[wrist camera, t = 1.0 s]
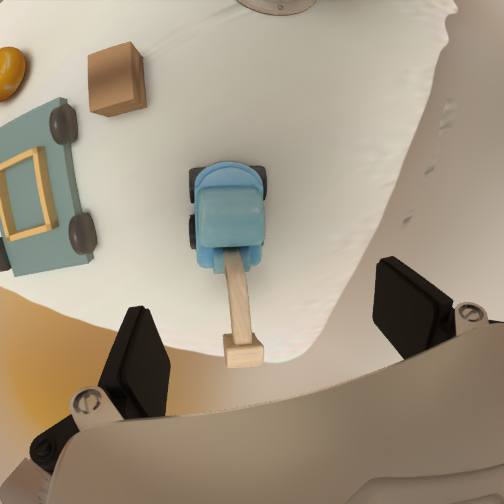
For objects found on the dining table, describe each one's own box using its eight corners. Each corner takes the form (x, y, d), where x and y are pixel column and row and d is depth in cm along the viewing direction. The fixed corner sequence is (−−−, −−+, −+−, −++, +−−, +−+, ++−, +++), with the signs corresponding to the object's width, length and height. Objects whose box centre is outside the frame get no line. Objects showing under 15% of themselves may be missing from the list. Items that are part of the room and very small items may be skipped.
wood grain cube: (105, 68, 25) (87, 55, 20) (142, 57, 26) (130, 41, 20) (109, 117, 28) (89, 111, 22) (146, 107, 28) (133, 98, 23)
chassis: (-12, 139, 24) (-32, 141, 19) (75, 95, 26) (57, 89, 21) (15, 272, 32) (-1, 286, 27) (102, 256, 34) (88, 271, 29)
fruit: (30, 73, 20) (-17, 63, 13) (7, 118, 24) (-35, 113, 16) (37, 43, 21) (-4, 33, 14) (13, 84, 24) (-24, 78, 17)
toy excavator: (194, 288, 37) (188, 381, 21) (189, 160, 31) (166, 168, 15) (258, 286, 38) (288, 375, 22) (261, 160, 32) (308, 169, 17)
